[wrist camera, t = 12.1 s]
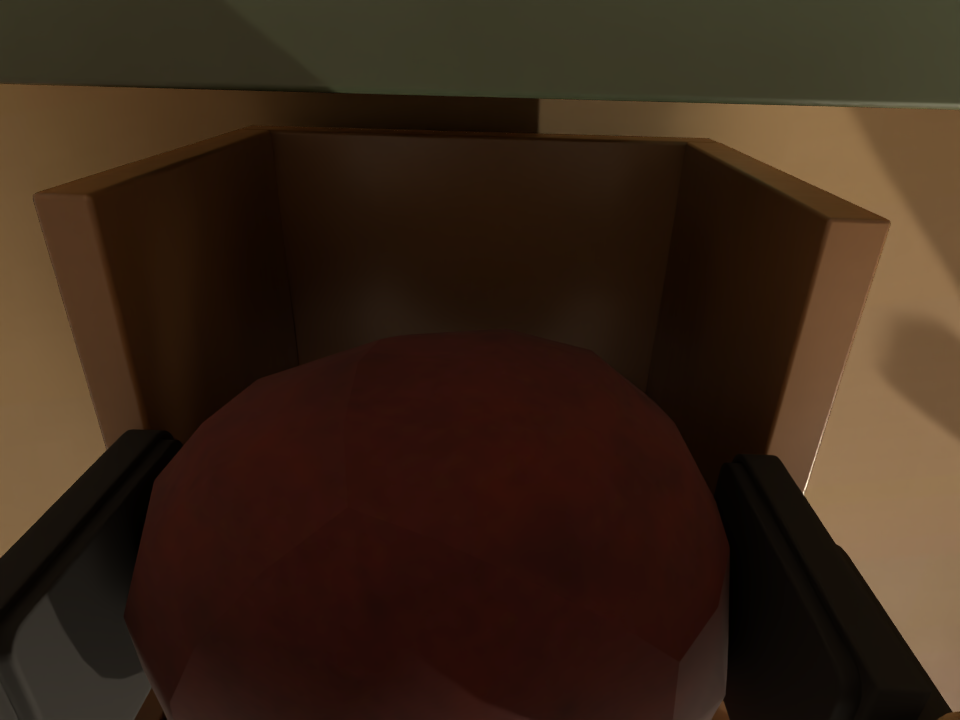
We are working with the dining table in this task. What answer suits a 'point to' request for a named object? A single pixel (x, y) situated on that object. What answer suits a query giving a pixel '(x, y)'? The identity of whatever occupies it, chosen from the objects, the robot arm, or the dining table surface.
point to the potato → (435, 545)
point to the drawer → (478, 199)
